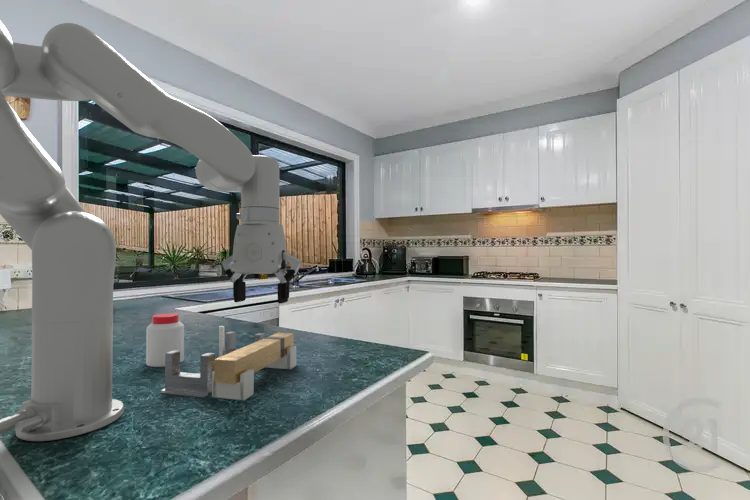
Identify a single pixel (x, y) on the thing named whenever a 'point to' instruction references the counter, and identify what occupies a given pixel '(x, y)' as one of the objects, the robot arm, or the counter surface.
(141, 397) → the counter surface
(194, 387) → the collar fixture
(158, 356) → the pill bottle
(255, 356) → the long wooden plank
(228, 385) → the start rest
